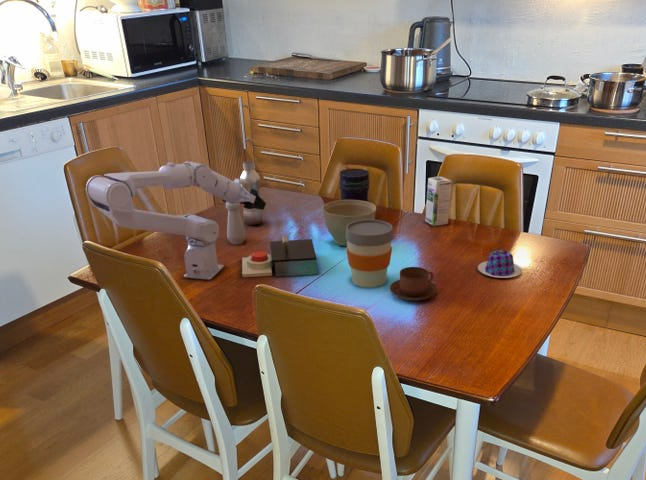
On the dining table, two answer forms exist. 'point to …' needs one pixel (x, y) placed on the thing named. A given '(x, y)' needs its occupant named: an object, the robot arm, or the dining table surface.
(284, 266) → the dark green box
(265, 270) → the button base
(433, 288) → the cup and saucer
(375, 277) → the reusable coffee cup
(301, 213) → the dining table surface
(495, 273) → the pudding
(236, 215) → the salt shaker
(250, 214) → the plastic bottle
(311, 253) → the lid
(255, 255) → the button
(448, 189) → the syrup box
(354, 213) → the planter bowl
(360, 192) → the storage jar
